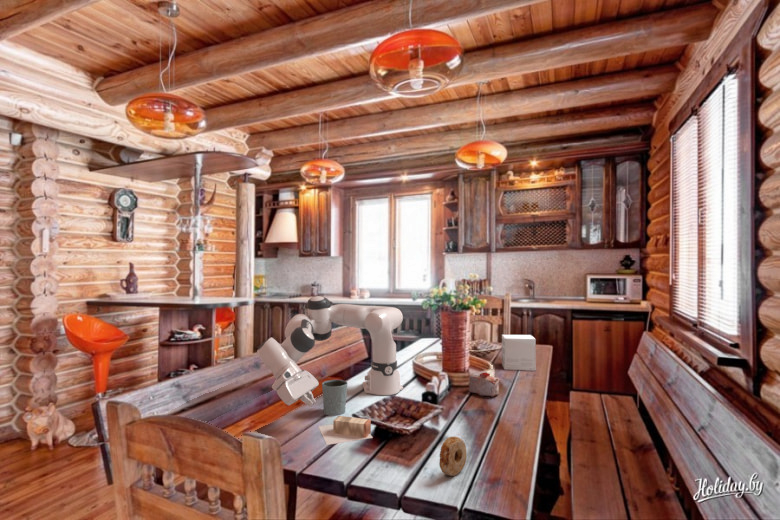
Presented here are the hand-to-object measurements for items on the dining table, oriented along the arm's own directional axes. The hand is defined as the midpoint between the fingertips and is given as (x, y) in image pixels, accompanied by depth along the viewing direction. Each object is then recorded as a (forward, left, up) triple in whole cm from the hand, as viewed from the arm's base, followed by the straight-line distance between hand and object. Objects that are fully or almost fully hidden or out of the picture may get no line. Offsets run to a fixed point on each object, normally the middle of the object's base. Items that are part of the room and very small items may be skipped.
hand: (313, 404), depth 149 cm
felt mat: (+8, +10, -9) cm, 15 cm away
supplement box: (-46, +126, -9) cm, 134 cm away
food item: (-13, +81, -9) cm, 83 cm away
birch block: (+5, +7, -6) cm, 11 cm away
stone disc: (+45, +33, -9) cm, 56 cm away
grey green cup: (-13, +11, -9) cm, 19 cm away
